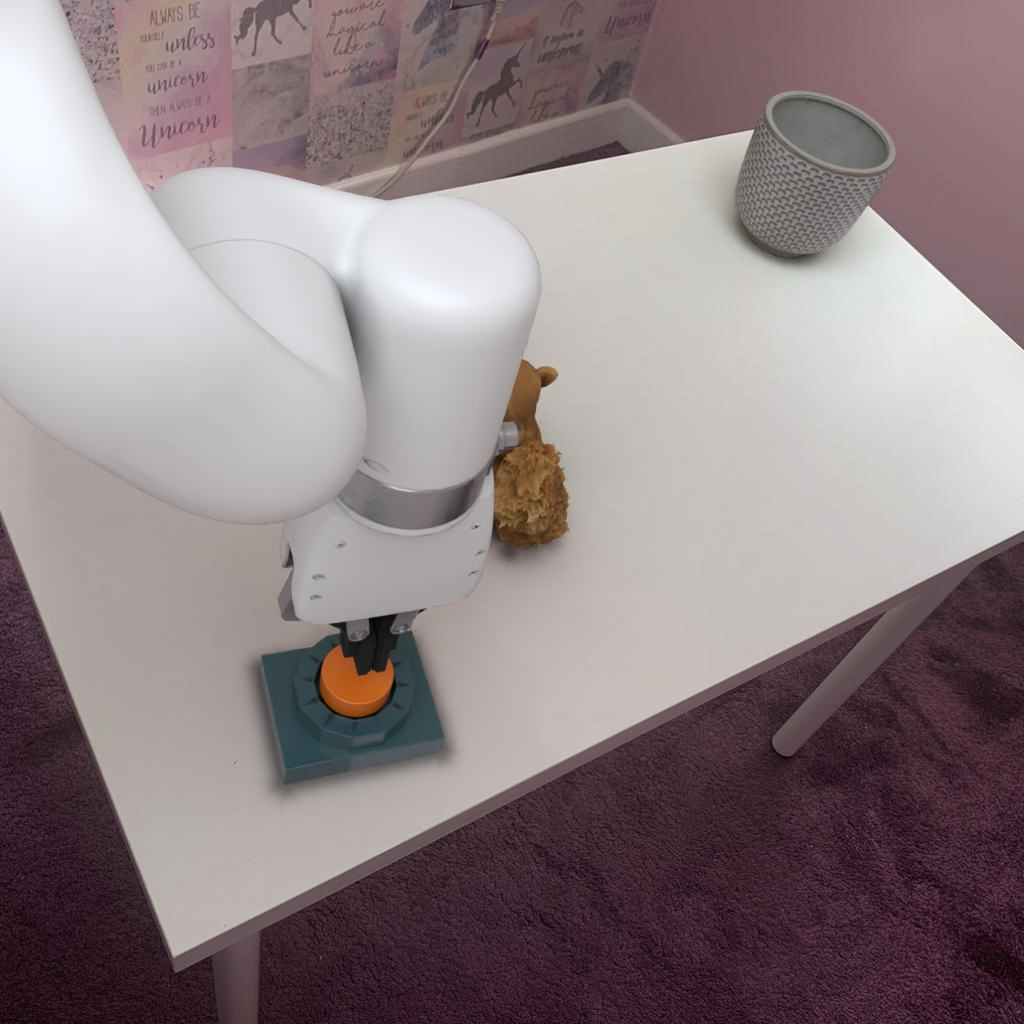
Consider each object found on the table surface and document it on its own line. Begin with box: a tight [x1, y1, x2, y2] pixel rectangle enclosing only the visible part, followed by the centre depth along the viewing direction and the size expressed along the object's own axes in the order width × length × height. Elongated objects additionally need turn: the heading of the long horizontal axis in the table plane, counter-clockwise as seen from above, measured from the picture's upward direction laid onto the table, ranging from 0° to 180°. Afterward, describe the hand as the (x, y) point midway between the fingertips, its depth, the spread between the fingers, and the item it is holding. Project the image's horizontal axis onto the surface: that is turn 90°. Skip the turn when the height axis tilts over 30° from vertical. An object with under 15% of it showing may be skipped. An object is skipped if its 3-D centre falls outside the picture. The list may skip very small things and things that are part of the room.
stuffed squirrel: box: [492, 358, 570, 550], centre depth 77 cm, size 10×14×13 cm
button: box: [319, 645, 394, 717], centre depth 65 cm, size 4×4×2 cm
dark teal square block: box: [259, 629, 445, 786], centre depth 67 cm, size 10×8×4 cm
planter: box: [734, 90, 897, 259], centre depth 108 cm, size 14×14×13 cm
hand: (365, 652), depth 63 cm, fingers closed
